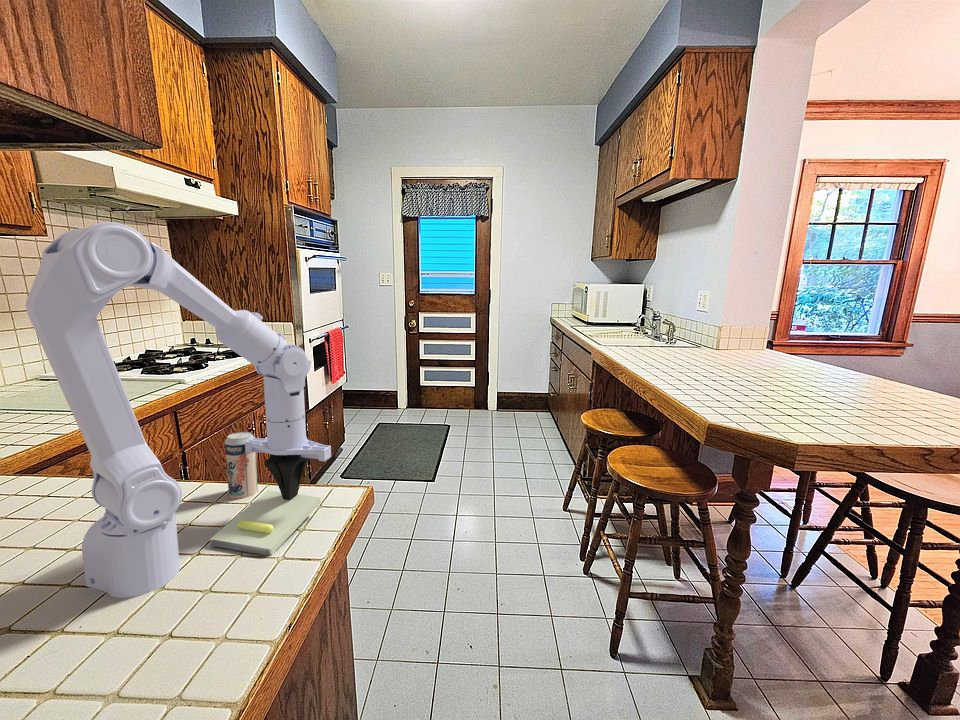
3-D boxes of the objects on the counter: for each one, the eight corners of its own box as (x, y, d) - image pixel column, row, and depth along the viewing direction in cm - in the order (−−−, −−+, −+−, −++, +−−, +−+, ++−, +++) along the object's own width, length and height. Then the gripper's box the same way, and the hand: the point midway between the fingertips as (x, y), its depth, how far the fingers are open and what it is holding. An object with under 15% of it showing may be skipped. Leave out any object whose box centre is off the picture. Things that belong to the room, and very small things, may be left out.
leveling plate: (208, 547, 60) (205, 534, 59) (268, 495, 72) (266, 484, 71) (269, 557, 58) (266, 544, 57) (320, 502, 69) (319, 491, 69)
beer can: (222, 501, 75) (217, 437, 74) (245, 490, 80) (242, 429, 78) (241, 506, 74) (237, 441, 72) (264, 495, 78) (261, 433, 76)
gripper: (340, 414, 70) (343, 490, 72) (264, 407, 73) (269, 481, 75) (314, 426, 63) (318, 511, 65) (232, 419, 66) (238, 500, 68)
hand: (290, 496), depth 69 cm, fingers closed, pressing on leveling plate
